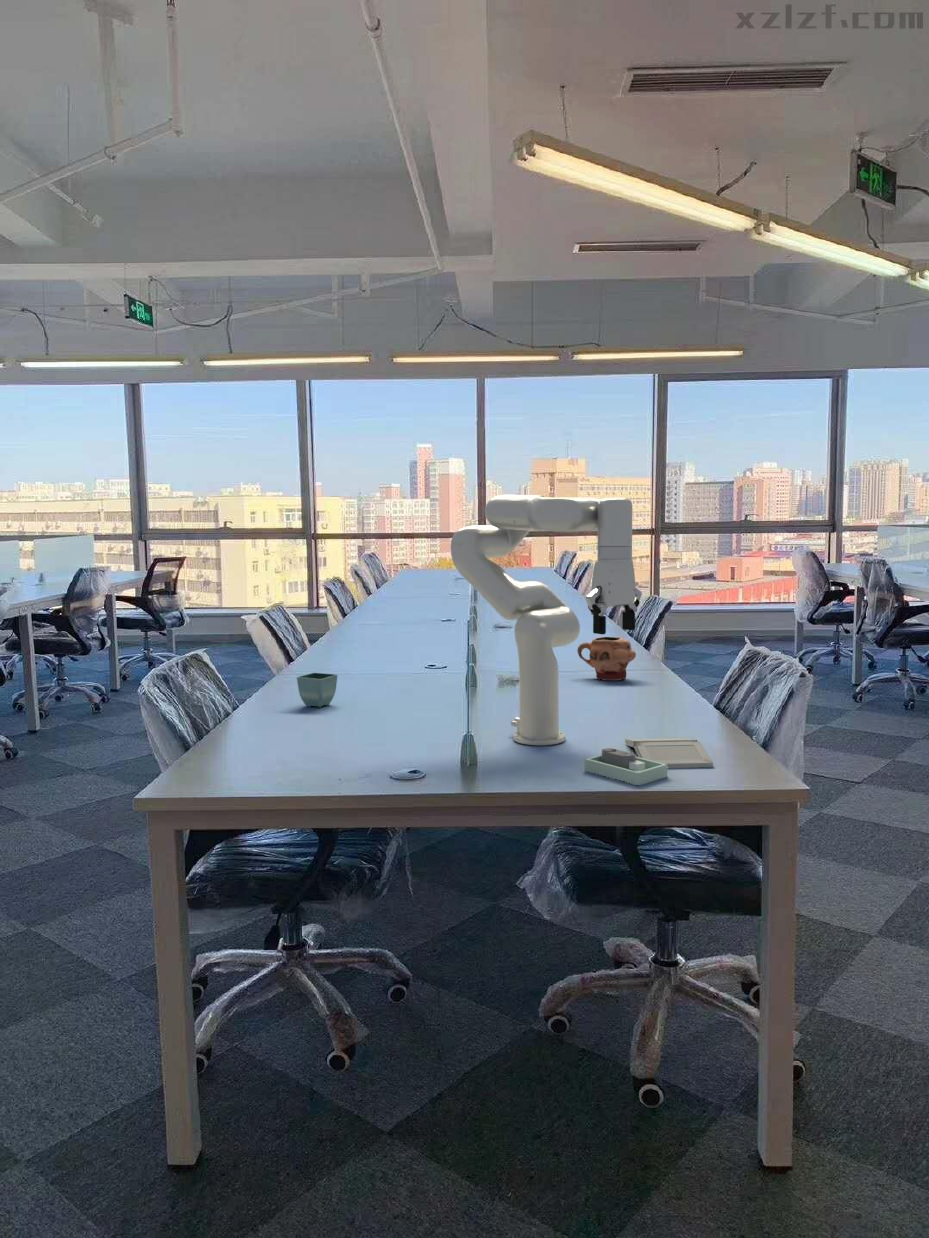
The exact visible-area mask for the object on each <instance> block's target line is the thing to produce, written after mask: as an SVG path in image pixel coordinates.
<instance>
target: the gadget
mask: <svg viewBox="0 0 929 1238" xmlns="http://www.w3.org/2000/svg"><path fill="white" fill-rule="evenodd" d="M624 740H625V742H626V744H625V745H626V747H627V746H628V747H631V748H633V749H634V751H635V753H636V755H637V757H639V758H643V759H647V760H651V761H655V762H659V763H663V764H667V765H668V768H667V769H695V768H694V767H714V768H715V766H714V762H713V761H712V759H711V757H710V756H709V754H708V752H707V751H706V750H705V748H704V746H703V744H702V743H701V741H700V740H698V739H695V738H694V739H692V738H686V737H683V738H681V737H680V738H679V737H676V738H675V737H673V738H670V737H668V738H667V737H666V738H625V739H624ZM625 742H624V743H625ZM683 767H684V768H683ZM691 767H693V768H691Z"/></svg>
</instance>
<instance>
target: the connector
mask: <svg viewBox="0 0 929 1238" xmlns="http://www.w3.org/2000/svg"><path fill="white" fill-rule="evenodd" d="M601 755H602V763H606V764H610V765H614V766H617V767H621V768H625V769H629V770H632V771H635V770H636V771H641V770H644V769H645V762H641V761H637V760H636V757H637V756H636V755H637V754H635V753H632V752H629V751H626V750H620V749H617V748H610V747H608V748H603V749H601Z"/></svg>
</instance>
